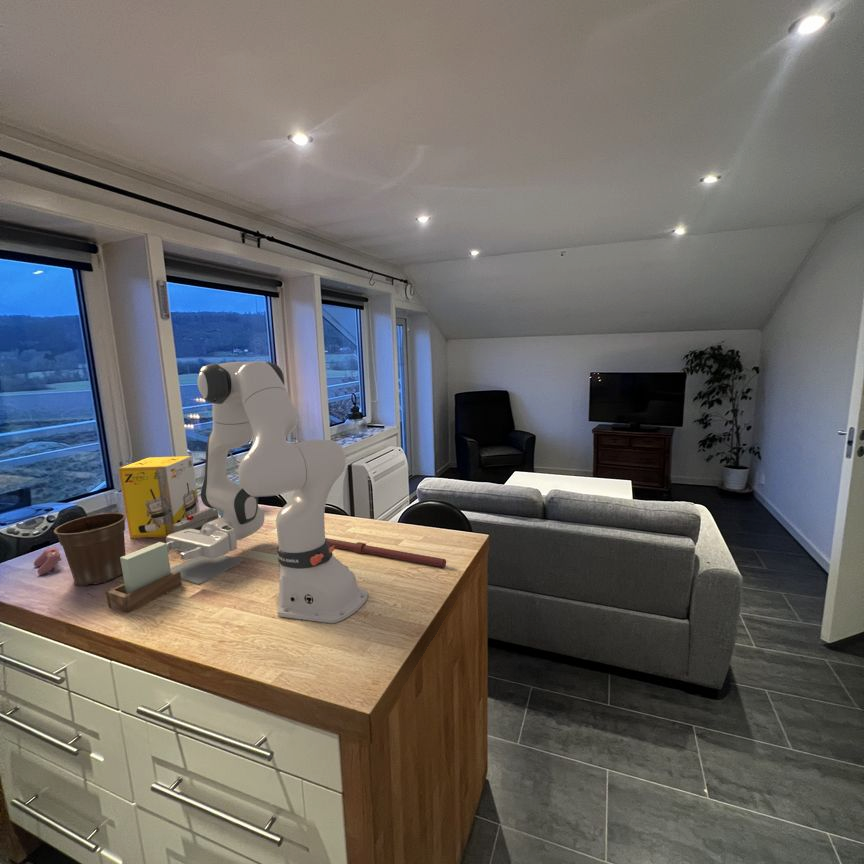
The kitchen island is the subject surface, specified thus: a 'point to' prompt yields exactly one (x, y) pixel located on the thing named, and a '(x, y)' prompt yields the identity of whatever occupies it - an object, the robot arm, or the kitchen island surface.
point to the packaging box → (158, 494)
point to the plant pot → (94, 547)
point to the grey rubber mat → (204, 567)
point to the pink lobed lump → (48, 560)
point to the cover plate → (145, 566)
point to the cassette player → (196, 520)
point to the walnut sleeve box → (142, 593)
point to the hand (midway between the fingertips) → (171, 554)
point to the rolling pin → (387, 552)
